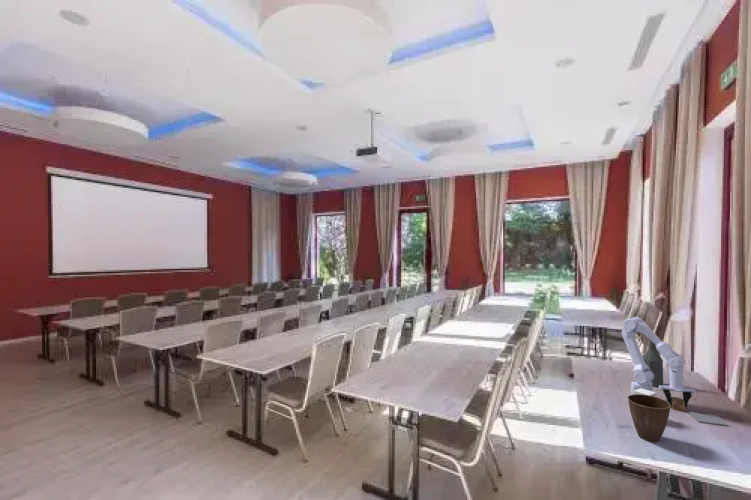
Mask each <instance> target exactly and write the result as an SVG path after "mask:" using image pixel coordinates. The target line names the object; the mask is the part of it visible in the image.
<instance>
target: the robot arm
mask: <svg viewBox="0 0 751 500" xmlns="http://www.w3.org/2000/svg"><path fill="white" fill-rule="evenodd" d="M636 333H641V334H643V335H645V336H646V337H647V338H648V339H650V340H651V341H652V342H653V343H654V344H655V348H656V351H657V352H659V354H661V355H662V356H663V358H664V359H665V360H666V363H667V365H668V366H669V369H668V370H669V371H668V372H669V375H668V376H669V385H664V384H663V385H659V387H658V390H660V391H662V392H663V394H664V396H665V398H666V401H667V402H668V403H669V404H670V405H671V397H672V393H671V392H678V393H682V399H683V400H684V401H685V408H687V406H688V403H689V401H690V400H691V398H692V397H693V395H696V390H695V388H689V387H685V375H684V374H685V372H684V365H685V364H686V359H685V358H684V356H683V355H681V354H679V353H678V352H676V350H674V349H673V348H672V345H671V344H670V343H667V342H665V341H662V340H661V339H660V338H659V336H658V335H657V334H655V332H654V331H653V330H652V329H651V328H650V327H649V325H648V324H647V322H645V321H644V319H642V318H641V317H640V316H639V317H638V316H634V317H631V318H630V317H629V318H626V319H625V320H624V321H623V322H622V329H621V336H622V338H623V341H624V343H625V347H626V348H627V350H628V351H627V352H628V354H629V356H630V359H631V361H632V364H633V378H634V380H635V381H631V382H630V395H633V391H634V390H637V389H640V388H642V389H645V390H649V391H653V389H654V387H653V386H652V380H653V379H654V374H653V372H652V371H651V370H650V369H649V367H648V366H647V365H646V364H645V362H644V359H643V355H642V352H641V350H640V347H639V345H638V342H637V340H636V338H635V334H636ZM653 392H654V391H653Z"/></svg>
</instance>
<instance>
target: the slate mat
mask: <svg viewBox="0 0 751 500" xmlns="http://www.w3.org/2000/svg"><path fill="white" fill-rule="evenodd" d="M688 413H689V415H691V417H692V418H693V419H694V420H695V421H696V422H697V423H700V424H708V425H716V426H722V427H723V426H725V427H729V424H728V423H727V422H726V421H724V420H723V419H722V418H721V417H720V416H719V415H717V414H710V413H704V412H703V413H702V412H694V411H689V412H688Z"/></svg>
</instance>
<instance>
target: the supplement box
mask: <svg viewBox="0 0 751 500" xmlns="http://www.w3.org/2000/svg"><path fill="white" fill-rule="evenodd" d="M634 394H640V395H648V396H653V397H657V396H658V395H657V394H658V392H655V391H649V390H645V389H642V388H640V389H637V390H634V391H633V395H634ZM657 398H658V397H657Z"/></svg>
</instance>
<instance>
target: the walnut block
mask: <svg viewBox="0 0 751 500" xmlns="http://www.w3.org/2000/svg"><path fill="white" fill-rule="evenodd" d="M670 409H672V410H674V411H680V412H681V411H682V412H685V411H686V407H685V401H684V400H683V397H677V396H671V406H670Z"/></svg>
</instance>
